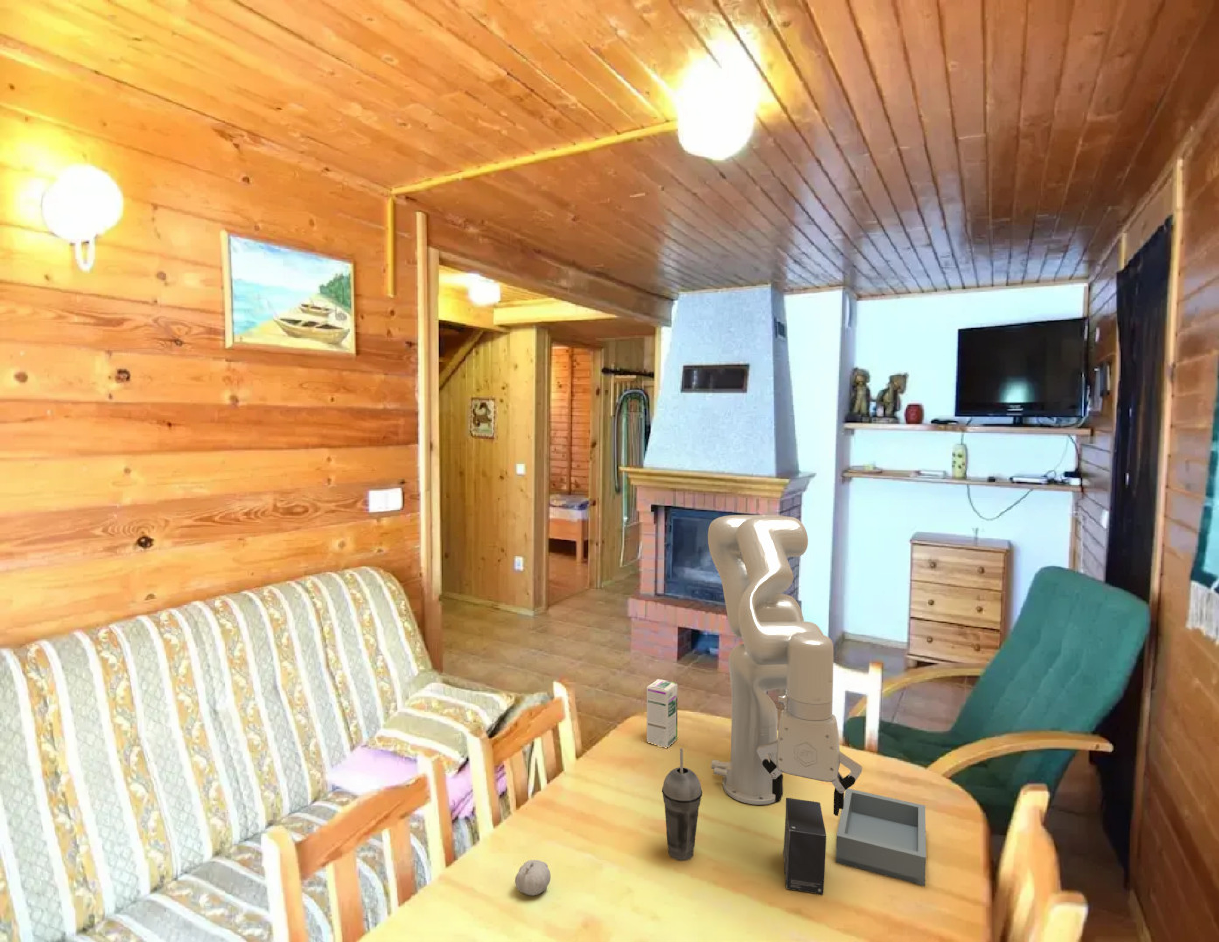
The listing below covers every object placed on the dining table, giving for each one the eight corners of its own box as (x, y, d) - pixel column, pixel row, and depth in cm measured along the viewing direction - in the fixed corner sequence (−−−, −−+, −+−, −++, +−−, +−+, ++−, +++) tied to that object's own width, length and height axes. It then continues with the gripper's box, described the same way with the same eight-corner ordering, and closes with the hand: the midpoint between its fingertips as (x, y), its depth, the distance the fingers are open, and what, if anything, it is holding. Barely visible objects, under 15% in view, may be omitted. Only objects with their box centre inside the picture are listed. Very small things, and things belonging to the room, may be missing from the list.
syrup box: (667, 749, 162) (668, 690, 160) (645, 743, 164) (646, 685, 164) (677, 740, 166) (678, 682, 165) (656, 734, 169) (657, 677, 168)
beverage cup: (704, 845, 125) (706, 740, 123) (696, 869, 118) (698, 758, 117) (666, 836, 127) (668, 733, 126) (656, 860, 120) (657, 751, 119)
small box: (826, 896, 112) (828, 835, 111) (785, 890, 113) (787, 830, 112) (819, 856, 122) (821, 800, 121) (782, 851, 123) (784, 796, 123)
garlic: (525, 907, 108) (525, 876, 108) (509, 888, 113) (509, 858, 112) (557, 892, 112) (557, 862, 112) (540, 874, 116) (540, 845, 116)
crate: (835, 862, 120) (836, 835, 120) (845, 811, 136) (846, 787, 136) (924, 885, 114) (926, 857, 114) (924, 830, 130) (925, 805, 130)
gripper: (753, 706, 115) (752, 804, 116) (861, 724, 108) (859, 828, 109) (762, 691, 122) (761, 784, 123) (864, 707, 115) (862, 806, 116)
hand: (807, 805), depth 116 cm, fingers open, 9 cm apart
